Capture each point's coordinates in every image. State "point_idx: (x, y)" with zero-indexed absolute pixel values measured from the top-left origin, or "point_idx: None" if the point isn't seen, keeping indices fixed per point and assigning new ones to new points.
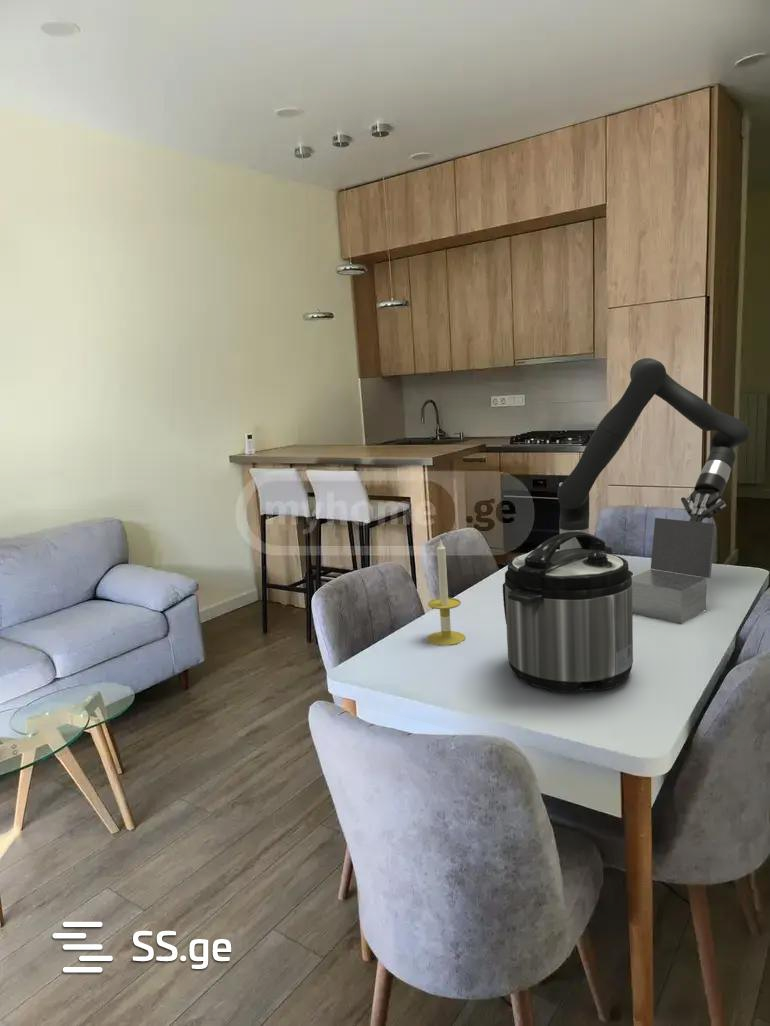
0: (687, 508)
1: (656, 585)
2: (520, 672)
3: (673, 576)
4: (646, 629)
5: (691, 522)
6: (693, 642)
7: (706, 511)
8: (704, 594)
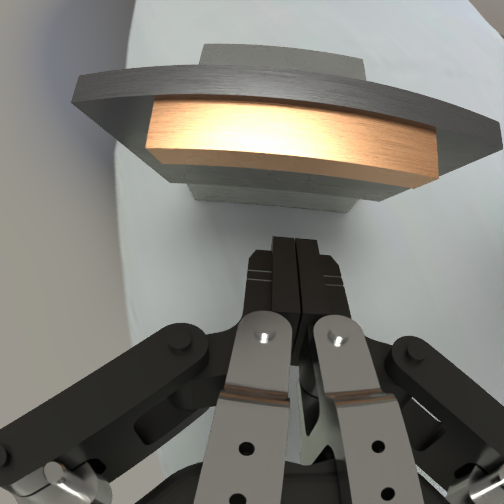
0: (437, 371)
1: (274, 49)
2: None
3: None
4: None
5: (235, 68)
6: (168, 44)
7: (179, 337)
8: None
